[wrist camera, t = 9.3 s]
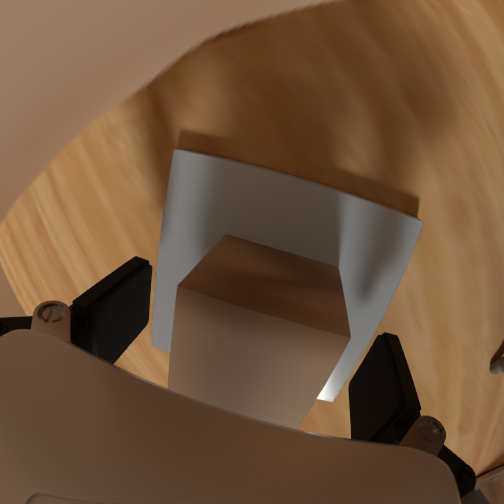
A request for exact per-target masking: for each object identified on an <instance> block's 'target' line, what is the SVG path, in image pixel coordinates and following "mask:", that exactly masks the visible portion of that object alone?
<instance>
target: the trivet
mask: <svg viewBox="0 0 504 504" xmlns="http://www.w3.org/2000/svg"><path fill="white" fill-rule="evenodd" d="M423 224H424V222H423V221H422V220H420V219H419V218H417V217H414V216H412V215H409V214H407V213H404V212H402V211H399V210H396V209H394V208H391V207H388V206H386V205H383V204H380V203H377V202H374V201H372V200H369V199H366V198H363V197H360V196H357V195H354V194H351V193H348V192H345V191H342V190H339V189H336V188H333V187H330V186H327V185H323V184H320V183H317V182H314V181H310V180H307V179H303V178H300V177H297V176H293V175H290V174H286V173H282V172H279V171H275V170H271V169H268V168H264V167H260V166H256V165H252V164H248V163H244V162H240V161H236V160H232V159H227V158H223V157H219V156H214V155H210V154H205V153H200V152H196V151H191V150H186V149H174V153H173V158H172V164H171V169H170V175H169V181H168V186H167V193H166V199H165V206H164V212H163V220H162V227H161V235H160V243H159V252H158V261H157V271H156V282H155V294H154V308H153V325H152V346H154V347H156V348H158V349H161V350H163V351H166V352H168V353H170V350H171V339H172V329H173V319H174V310H175V301H176V293H177V285H178V284H179V283H180V282H181V281H182V280H183V279H184V278H185V277H186V276H187V275H188V274H189V272H190V271H191V270H192V269H193V268H194V267H195V266H196V265H197V264H198V263H199V262H200V261H201V260H202V259H203V258H204V257H205V256H206V254H207V253H208V252H209V251H210V250H211V249H212V248H213V247H214V246H215V245H216V244H217V243H218V242H219V241H220V240H221V239H222V238H223V237H224V236H225V235H226V234H228V235H231V236H234V237H238V238H241V239H245V240H248V241H252V242H255V243H258V244H262V245H265V246H269V247H272V248H275V249H279V250H282V251H286V252H289V253H292V254H296V255H299V256H302V257H306V258H309V259H312V260H316V261H319V262H322V263H326V264H329V265H332V266H336V267H339V271H340V276H341V281H342V287H343V292H344V297H345V303H346V309H347V314H348V320H349V327H350V333H351V339H350V341H349V343H348V345H347V347H346V349H345V351H344V352H343V354H342V356H341V358H340V360H339V362H338V363H337V365H336V367H335V369H334V370H333V372H332V374H331V376H330V377H329V379H328V381H327V382H326V384H325V386H324V388H323V389H322V391H321V393H320V394H319V396H318V397H317V399H321V400H326V401H331V402H333V400H334V399H335V397H336V396H337V394H338V393H339V391H340V390H341V388H342V386H343V385H344V383H345V382H346V380H347V379H348V377H349V375H350V374H351V372H352V371H353V369H354V367H355V366H356V364H357V362H358V361H359V359H360V357H361V355H362V354H363V352H364V350H365V349H366V347H367V345H368V343H369V341H370V340H371V338H372V336H373V334H374V332H375V330H376V329H377V327H378V325H379V323H380V321H381V319H382V317H383V315H384V313H385V311H386V309H387V307H388V305H389V303H390V301H391V299H392V297H393V295H394V293H395V291H396V289H397V286H398V284H399V282H400V280H401V278H402V275H403V273H404V271H405V269H406V266H407V264H408V262H409V259H410V257H411V254H412V252H413V250H414V247H415V245H416V242H417V239H418V237H419V234H420V232H421V229H422V226H423Z"/></svg>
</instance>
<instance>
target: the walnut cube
mask: <svg viewBox="0 0 504 504" xmlns="http://www.w3.org/2000/svg"><path fill="white" fill-rule="evenodd" d="M350 339H351V333H350V327H349V320H348V314H347V309H346V303H345V297H344V292H343V287H342V281H341V276H340V271H339V267H336V266H332V265H329V264H326V263H322V262H319V261H316V260H312V259H309V258H306V257H302V256H299V255H296V254H292V253H289V252H286V251H282V250H279V249H275V248H272V247H269V246H265V245H262V244H258V243H255V242H252V241H248V240H245V239H241V238H238V237H234V236H231V235H228V234H226V235H225V236H224V237H223V238H222V239H221V240H220V241H219V242H218V243H217V244H216V245H215V246H214V247H213V248H212V249H211V250H210V251H209V252H208V253H207V254H206V256H205V257H204V258H203V259H202V260H201V261H200V262H199V263H198V264H197V265H196V266H195V267H194V268H193V269H192V270H191V271H190V272H189V274H188V275H187V276H186V277H185V278H184V279H183V280H182V281H181V282H180V283H179V284H178V285H177V293H176V301H175V310H174V319H173V329H172V339H171V350H170V363H169V376H168V389H169V390H172V391H174V392H177V393H180V394H182V395H185V396H187V397H190V398H193V399H195V400H198V401H201V402H204V403H207V404H210V405H212V406H215V407H218V408H221V409H225V410H228V411H231V412H234V413H237V414H241V415H244V416H248V417H251V418H255V419H258V420H262V421H266V422H270V423H273V424H277V425H282V426H286V427H290V428H294V429H297V428H298V427H299V425H300V424H301V422H302V421H303V419H304V418H305V416H306V415H307V413H308V412H309V410H310V409H311V407H312V405H313V404H314V402H315V401H316V399H317V397H318V396H319V394H320V393H321V391H322V389H323V388H324V386H325V384H326V382H327V381H328V379H329V377H330V376H331V374H332V372H333V370H334V369H335V367H336V365H337V363H338V362H339V360H340V358H341V356H342V354H343V352H344V351H345V349H346V347H347V345H348V343H349V341H350Z"/></svg>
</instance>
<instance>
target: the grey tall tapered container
mask: <svg viewBox="0 0 504 504" xmlns="http://www.w3.org/2000/svg"><path fill="white" fill-rule="evenodd" d="M499 371H502V372H503V373H504V357H500V358H498V359H497V360H495V361H494V362H493V363H492V364H491V366H490V372H491V373H492V374H497V373H498V372H499Z"/></svg>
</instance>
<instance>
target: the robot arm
mask: <svg viewBox="0 0 504 504" xmlns="http://www.w3.org/2000/svg"><path fill="white" fill-rule="evenodd" d="M151 279H152V266H151V265H149V261H148V260H145V259H143V258H140V257H137V256H135V257H133V258H132V259H131V260H129V261H128V262H126V263H125V264H123V265H122V266H120V267H119V268H118V269H116V270H115V271H113V272H112V273H110V274H109V275H108V276H106V277H105V278H103V279H102V280H101V281H99V282H98V283H97V284H95V285H94V286H92V287H91V288H90V289H88V290H87V291H86V292H84V293H83V294H82V295H80V296H79V297H77V298H76V299H75V300H73V304H72V305H71V306H69V307H68V306H67V305H66V304H65V303H63V302H60V301H46V302H43V303H41V304H39V305H38V306H37V307H36V308H35V310H34V313H33V316H27V317H7V318H0V504H504V466H501V467H499V468H497V469H494V470H492V471H490V472H488V473H486V474H484V475H482V476H480V477H478V478H476V475H475V473H474V471H473V469H472V468H471V467H470V466H469V465H468V464H466V463H465V462H464V461H463V460H462V459H460V458H459V457H458V456H457V455H456V454H454V453H453V452H452V451H451V450H449V449H448V448H447V447H446V446H445V445H444V442H445V439H446V431H445V429H444V427H443V425H442V424H441V423H440V422H439V421H438V420H437V419H435V418H434V417H431V416H421V414H420V410H421V406H420V402H419V399H418V395H417V392H416V389H415V386H414V382H413V379H412V376H411V373H410V370H409V367H408V364H407V361H406V358H405V355H404V352H403V349H402V346H401V344H400V341H399V338H398V336H397V335H394V334H390V333H386V332H384V333H383V334H382V335H378V336H377V338H376V339H375V341H374V343H373V345H372V346H371V348H370V350H369V352H368V353H367V355H366V357H365V358H364V360H363V362H362V363H361V365H360V367H359V368H358V370H357V371H356V373H355V375H354V376H353V378H352V379H351V381H350V383H349V388H348V390H349V405H350V422H351V439H348V438H342V437H336V436H330V435H324V434H319V433H313V432H308V431H304V430H299V429H294V428H290V427H286V426H282V425H277V424H273V423H270V422H266V421H262V420H258V419H255V418H251V417H248V416H244V415H241V414H237V413H234V412H231V411H228V410H225V409H221V408H218V407H215V406H212V405H210V404H207V403H204V402H201V401H198V400H195V399H193V398H190V397H187V396H185V395H182V394H180V393H177V392H174V391H172V390H169V389H167V388H164V387H162V386H160V385H157V384H155V383H153V382H150V381H148V380H146V379H143V378H141V377H139V376H137V375H135V374H133V373H130V372H128V371H126V370H124V369H122V368H120V367H118V366H116V365H114V363H115V362H116V361H117V359H118V358H119V357H120V356H121V355H122V353H123V352H124V351H125V350H126V349H127V348H128V346H129V345H130V344H131V343H132V342H133V341H134V340H135V338H136V337H137V336H138V335H139V334H140V333H141V331H142V330H143V329H144V328H145V327H146V325H147V324H148V321H149V308H150V292H151Z"/></svg>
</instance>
